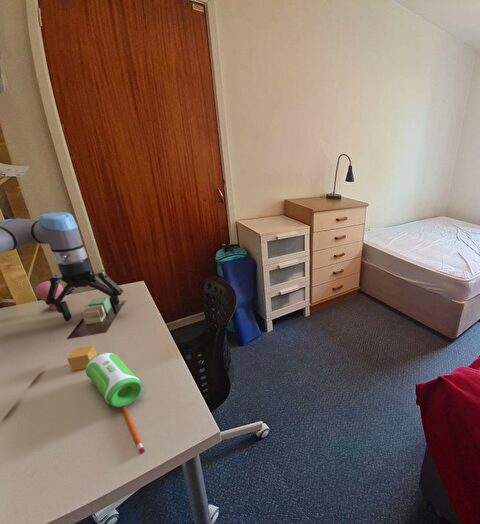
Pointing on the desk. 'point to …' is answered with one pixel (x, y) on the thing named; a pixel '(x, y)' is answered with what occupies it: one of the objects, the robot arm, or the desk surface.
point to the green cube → (101, 303)
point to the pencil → (132, 430)
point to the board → (94, 325)
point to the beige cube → (93, 314)
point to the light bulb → (43, 292)
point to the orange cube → (81, 357)
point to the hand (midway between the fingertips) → (93, 315)
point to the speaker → (113, 379)
